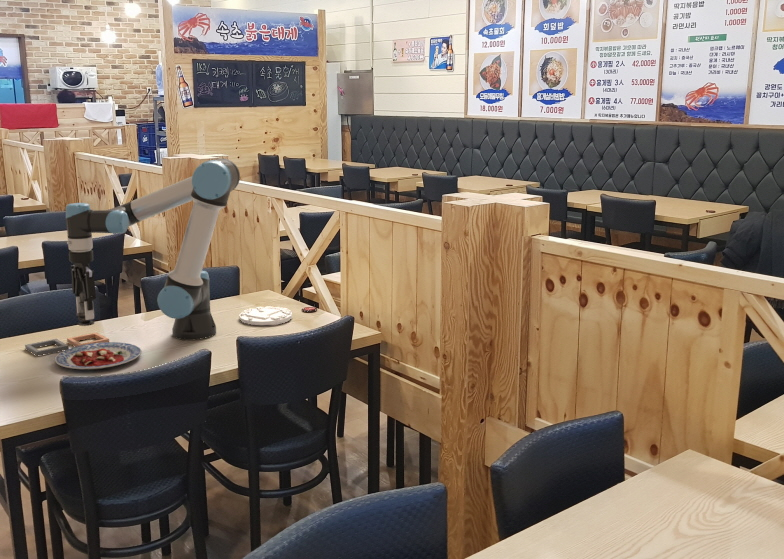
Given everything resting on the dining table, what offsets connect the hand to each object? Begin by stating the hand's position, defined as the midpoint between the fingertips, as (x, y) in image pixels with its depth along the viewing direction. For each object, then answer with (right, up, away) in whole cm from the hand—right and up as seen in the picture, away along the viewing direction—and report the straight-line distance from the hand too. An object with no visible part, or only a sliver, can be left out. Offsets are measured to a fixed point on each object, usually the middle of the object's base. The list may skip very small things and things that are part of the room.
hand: (85, 316), depth 258 cm
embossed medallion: (+56, -3, +33) cm, 65 cm away
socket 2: (0, -9, +2) cm, 9 cm away
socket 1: (-11, -10, -5) cm, 16 cm away
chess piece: (0, -2, +1) cm, 3 cm away
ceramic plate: (+10, -13, -15) cm, 23 cm away
